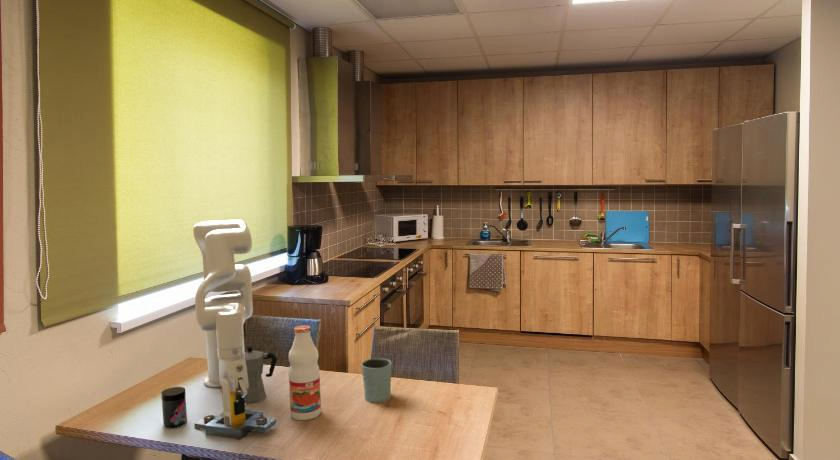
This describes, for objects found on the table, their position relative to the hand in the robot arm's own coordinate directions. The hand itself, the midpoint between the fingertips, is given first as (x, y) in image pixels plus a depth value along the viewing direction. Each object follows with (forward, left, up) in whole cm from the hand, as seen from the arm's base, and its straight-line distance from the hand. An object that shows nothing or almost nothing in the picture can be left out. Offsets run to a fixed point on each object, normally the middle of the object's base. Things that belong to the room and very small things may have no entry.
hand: (234, 409), depth 169 cm
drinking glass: (-44, +13, -6) cm, 46 cm away
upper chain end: (-1, +3, -4) cm, 5 cm away
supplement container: (+12, -16, -6) cm, 20 cm away
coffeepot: (-15, -16, -6) cm, 23 cm away
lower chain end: (+2, -2, -6) cm, 6 cm away
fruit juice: (-20, +7, -6) cm, 22 cm away
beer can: (0, 0, -5) cm, 5 cm away
